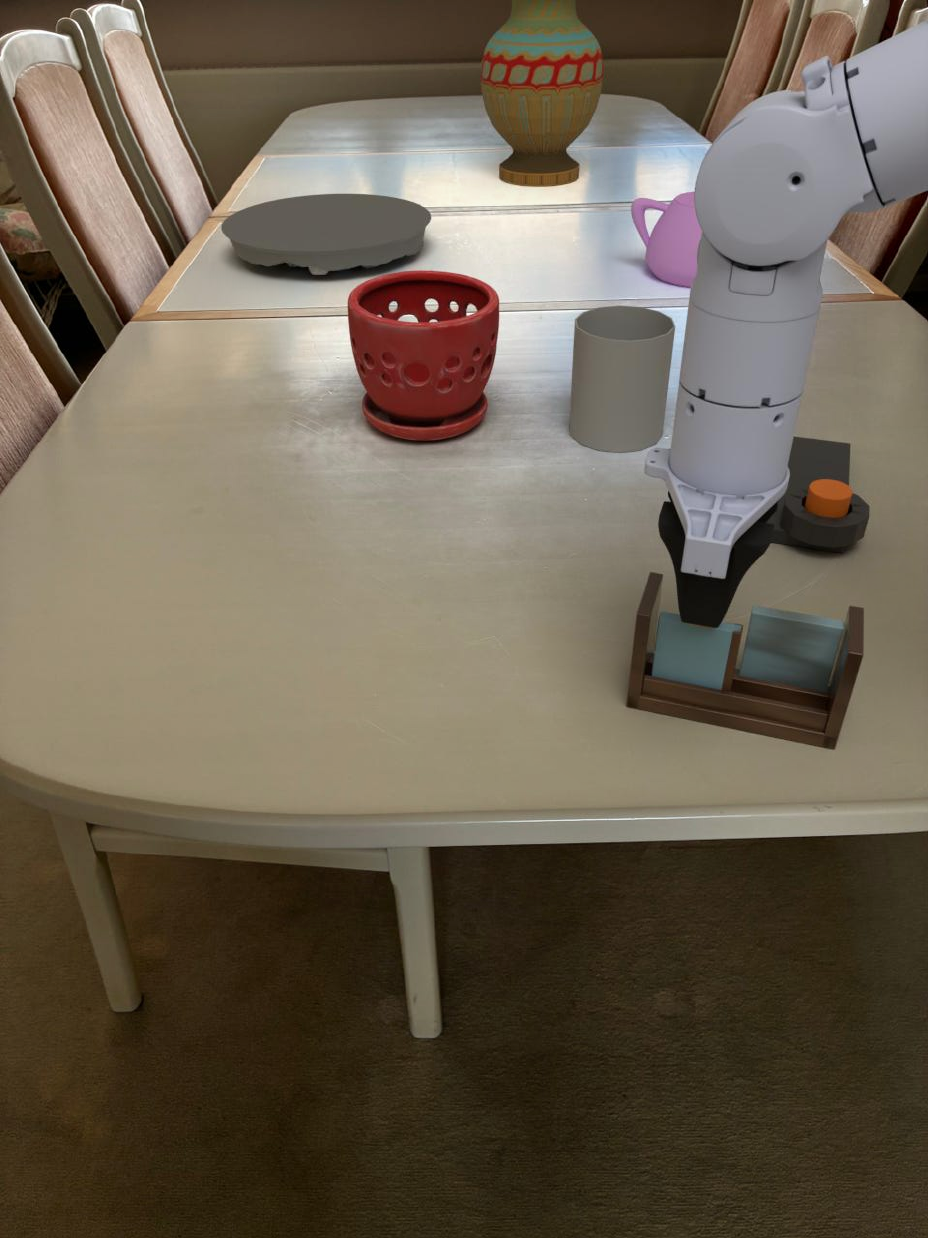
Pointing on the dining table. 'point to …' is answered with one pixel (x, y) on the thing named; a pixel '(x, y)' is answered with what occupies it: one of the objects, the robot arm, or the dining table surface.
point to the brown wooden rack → (761, 674)
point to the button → (828, 498)
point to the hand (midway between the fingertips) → (702, 613)
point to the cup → (620, 377)
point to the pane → (696, 652)
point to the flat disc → (328, 231)
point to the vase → (541, 89)
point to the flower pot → (424, 352)
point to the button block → (791, 516)
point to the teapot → (670, 238)
